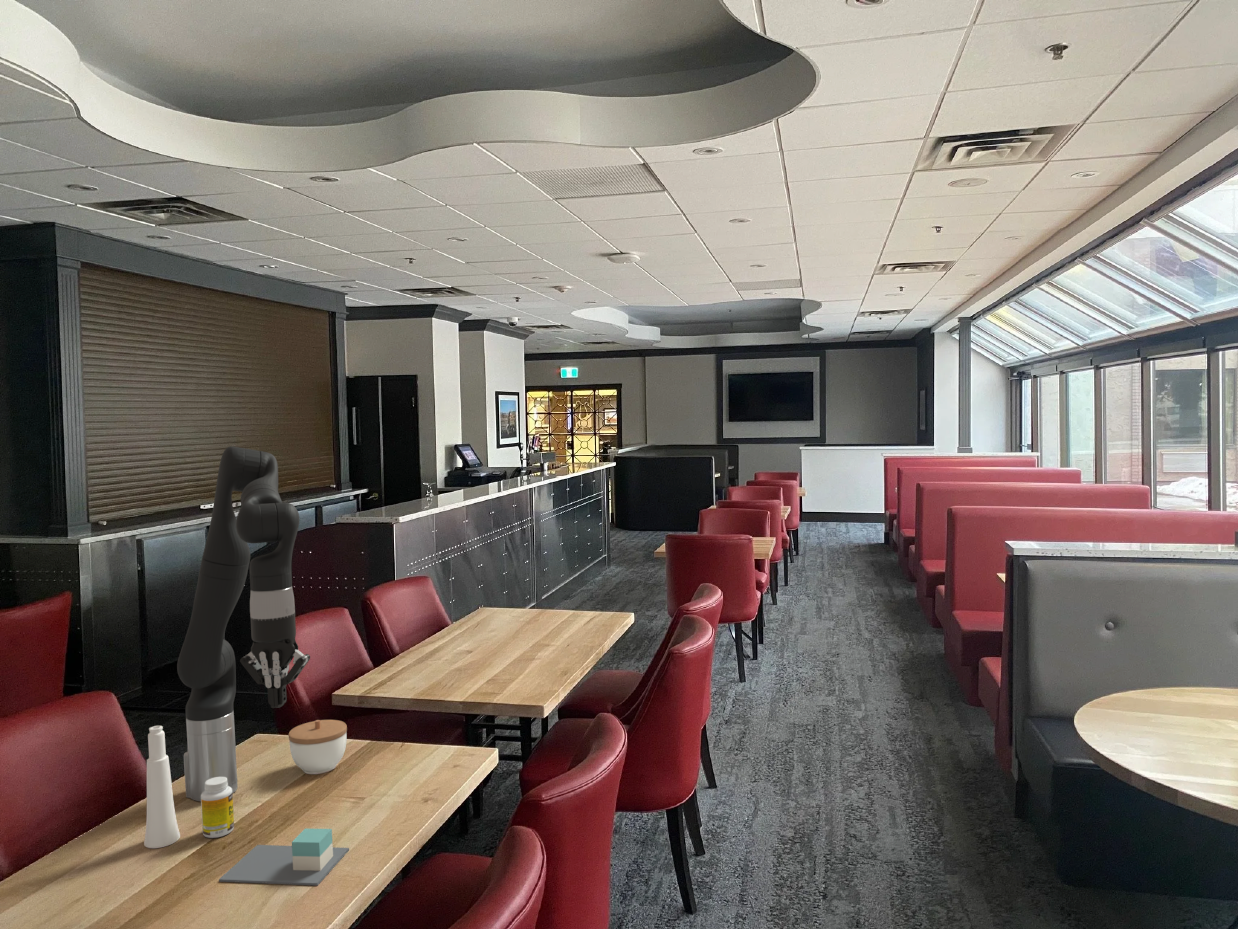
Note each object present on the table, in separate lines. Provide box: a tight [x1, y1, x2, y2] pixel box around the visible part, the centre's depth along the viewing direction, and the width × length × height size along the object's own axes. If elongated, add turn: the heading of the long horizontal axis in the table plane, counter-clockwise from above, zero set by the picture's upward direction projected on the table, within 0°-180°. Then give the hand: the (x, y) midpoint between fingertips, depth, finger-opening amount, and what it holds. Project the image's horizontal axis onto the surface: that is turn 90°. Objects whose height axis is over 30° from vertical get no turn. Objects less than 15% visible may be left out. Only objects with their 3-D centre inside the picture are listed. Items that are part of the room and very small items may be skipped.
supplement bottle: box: [200, 777, 235, 839], centre depth 163 cm, size 6×6×10 cm
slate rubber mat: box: [218, 844, 350, 887], centre depth 150 cm, size 18×12×1 cm, turn 83°
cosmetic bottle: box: [143, 725, 181, 849], centre depth 160 cm, size 6×6×22 cm
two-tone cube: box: [291, 828, 334, 871], centre depth 149 cm, size 5×5×5 cm
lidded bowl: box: [288, 719, 348, 775], centre depth 193 cm, size 13×13×11 cm
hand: (277, 706), depth 154 cm, fingers closed
